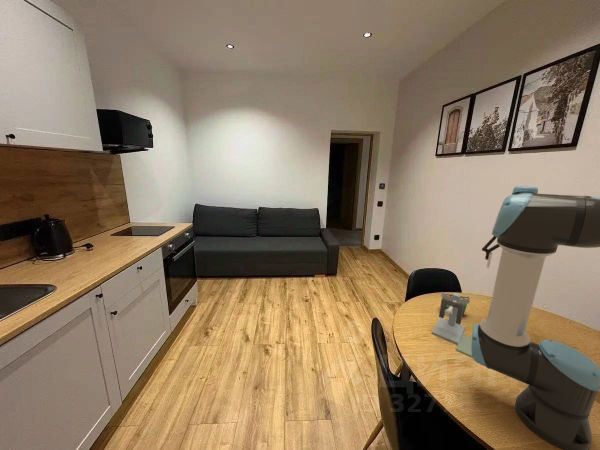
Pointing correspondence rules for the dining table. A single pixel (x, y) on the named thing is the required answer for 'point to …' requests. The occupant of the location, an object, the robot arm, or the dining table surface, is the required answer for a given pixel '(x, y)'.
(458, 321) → the link
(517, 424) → the dining table surface
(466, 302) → the food container
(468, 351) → the mat
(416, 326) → the dining table surface
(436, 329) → the stand
